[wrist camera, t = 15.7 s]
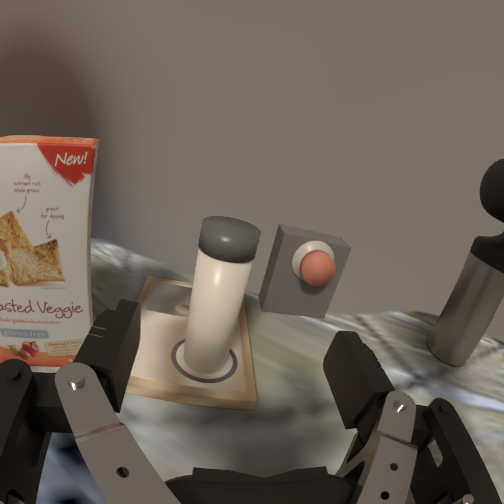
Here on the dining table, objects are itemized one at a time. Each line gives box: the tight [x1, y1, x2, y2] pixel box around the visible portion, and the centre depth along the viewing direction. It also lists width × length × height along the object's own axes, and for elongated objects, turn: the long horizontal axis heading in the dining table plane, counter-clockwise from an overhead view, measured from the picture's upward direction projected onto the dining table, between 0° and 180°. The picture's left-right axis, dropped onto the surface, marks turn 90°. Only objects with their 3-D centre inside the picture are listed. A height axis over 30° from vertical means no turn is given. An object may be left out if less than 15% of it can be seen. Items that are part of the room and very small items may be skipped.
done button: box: [300, 250, 336, 286], centre depth 37 cm, size 4×2×4 cm, turn 95°
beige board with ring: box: [125, 275, 257, 410], centre depth 32 cm, size 14×20×2 cm
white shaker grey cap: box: [183, 216, 261, 374], centre depth 25 cm, size 5×5×14 cm
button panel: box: [259, 224, 351, 318], centre depth 42 cm, size 10×4×12 cm, turn 95°
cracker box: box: [0, 135, 99, 366], centre depth 18 cm, size 14×6×21 cm, turn 117°
